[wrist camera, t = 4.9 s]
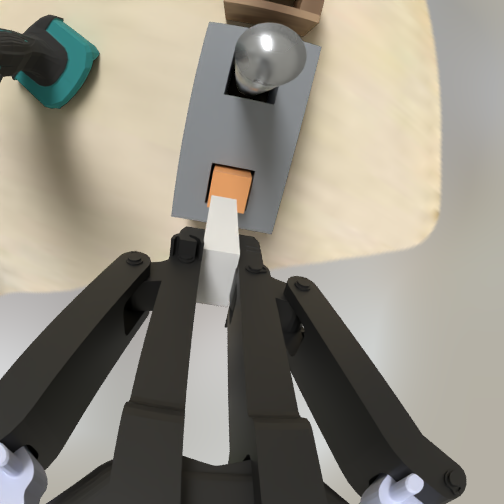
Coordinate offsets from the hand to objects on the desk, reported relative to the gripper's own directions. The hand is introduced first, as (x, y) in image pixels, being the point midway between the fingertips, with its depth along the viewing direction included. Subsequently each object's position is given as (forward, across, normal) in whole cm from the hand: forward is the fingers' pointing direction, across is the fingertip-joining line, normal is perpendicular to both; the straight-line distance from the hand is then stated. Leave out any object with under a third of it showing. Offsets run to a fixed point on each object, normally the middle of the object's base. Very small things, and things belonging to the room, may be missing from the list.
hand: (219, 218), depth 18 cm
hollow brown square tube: (+14, +1, +19) cm, 24 cm away
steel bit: (+14, +1, +9) cm, 17 cm away
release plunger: (+14, +1, 0) cm, 14 cm away
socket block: (+14, +1, +5) cm, 15 cm away
